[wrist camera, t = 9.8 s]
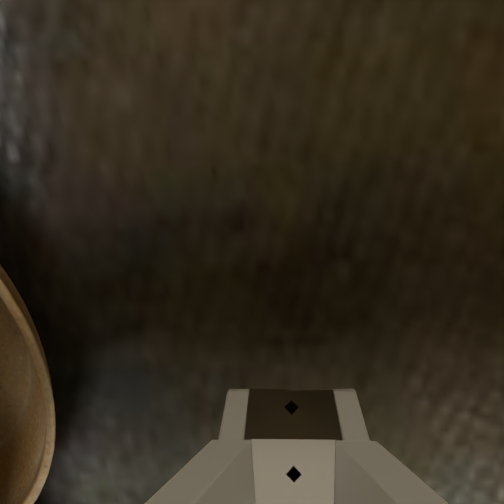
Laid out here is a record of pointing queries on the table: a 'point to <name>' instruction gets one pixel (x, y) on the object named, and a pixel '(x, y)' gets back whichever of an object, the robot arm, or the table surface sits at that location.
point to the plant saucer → (23, 402)
